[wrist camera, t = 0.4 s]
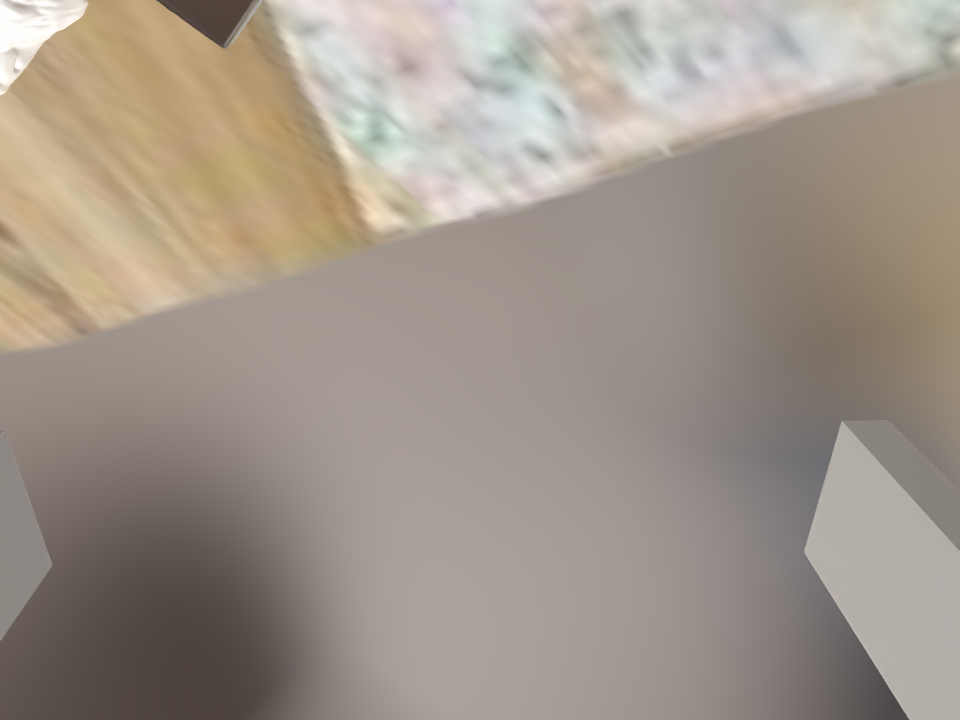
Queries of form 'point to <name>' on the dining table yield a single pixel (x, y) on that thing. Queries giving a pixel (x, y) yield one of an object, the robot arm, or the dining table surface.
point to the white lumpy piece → (30, 31)
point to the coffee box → (215, 16)
